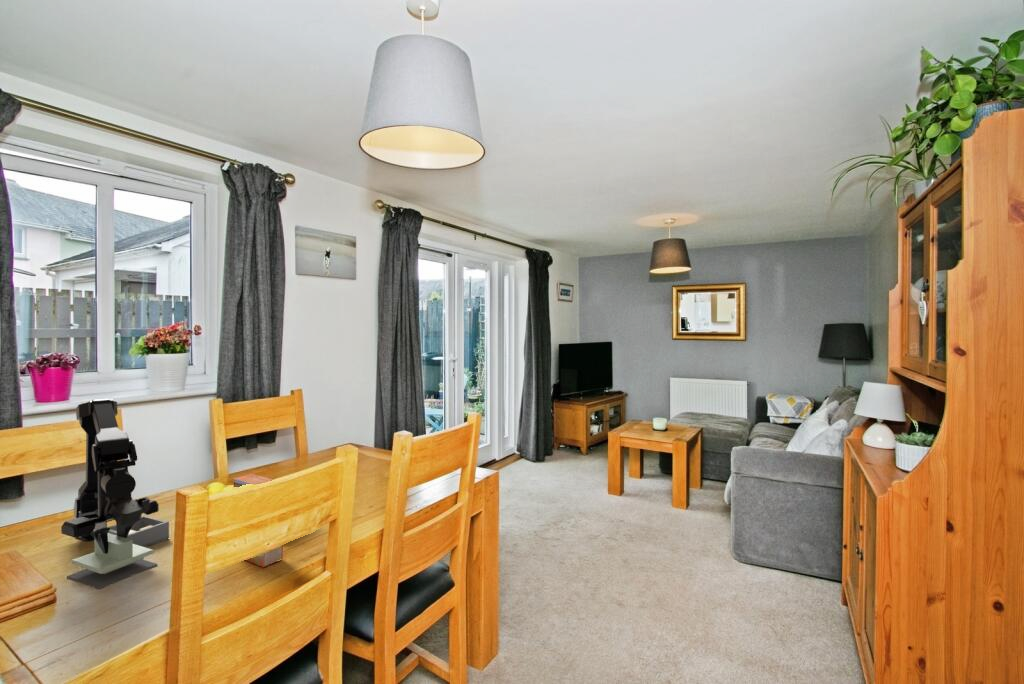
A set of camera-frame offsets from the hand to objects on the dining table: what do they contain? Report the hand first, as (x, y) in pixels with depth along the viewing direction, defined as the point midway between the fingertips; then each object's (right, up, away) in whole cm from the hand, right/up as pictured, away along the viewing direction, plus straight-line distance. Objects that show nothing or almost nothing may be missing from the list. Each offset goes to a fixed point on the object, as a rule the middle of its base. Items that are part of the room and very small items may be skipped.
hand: (113, 550), depth 125 cm
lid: (0, -3, 0) cm, 3 cm away
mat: (0, -5, 0) cm, 5 cm away
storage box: (-7, -5, +17) cm, 18 cm away
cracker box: (+31, -6, +9) cm, 33 cm away
